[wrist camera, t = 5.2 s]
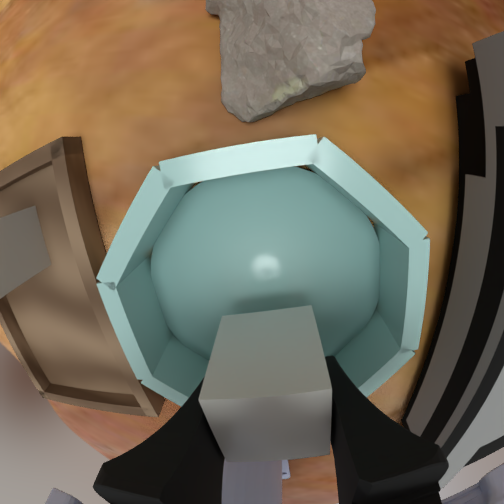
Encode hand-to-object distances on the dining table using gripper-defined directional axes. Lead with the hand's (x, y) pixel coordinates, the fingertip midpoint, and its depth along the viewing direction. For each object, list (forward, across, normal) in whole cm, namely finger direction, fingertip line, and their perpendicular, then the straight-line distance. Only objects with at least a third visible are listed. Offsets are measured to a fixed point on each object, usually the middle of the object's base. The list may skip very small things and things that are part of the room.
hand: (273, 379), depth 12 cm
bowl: (+5, 0, -2) cm, 6 cm away
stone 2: (+2, 0, 0) cm, 2 cm away
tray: (+5, +16, -3) cm, 17 cm away
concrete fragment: (+5, -3, -17) cm, 18 cm away
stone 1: (+4, +16, -8) cm, 18 cm away
